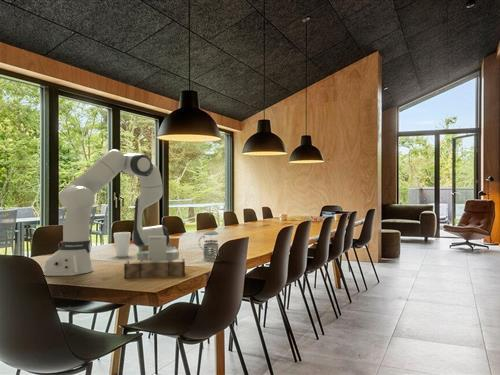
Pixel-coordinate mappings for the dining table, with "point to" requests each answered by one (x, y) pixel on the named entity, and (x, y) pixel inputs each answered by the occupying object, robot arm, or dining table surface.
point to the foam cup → (122, 243)
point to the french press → (210, 246)
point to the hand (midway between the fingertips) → (157, 257)
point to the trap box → (154, 269)
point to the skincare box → (156, 248)
